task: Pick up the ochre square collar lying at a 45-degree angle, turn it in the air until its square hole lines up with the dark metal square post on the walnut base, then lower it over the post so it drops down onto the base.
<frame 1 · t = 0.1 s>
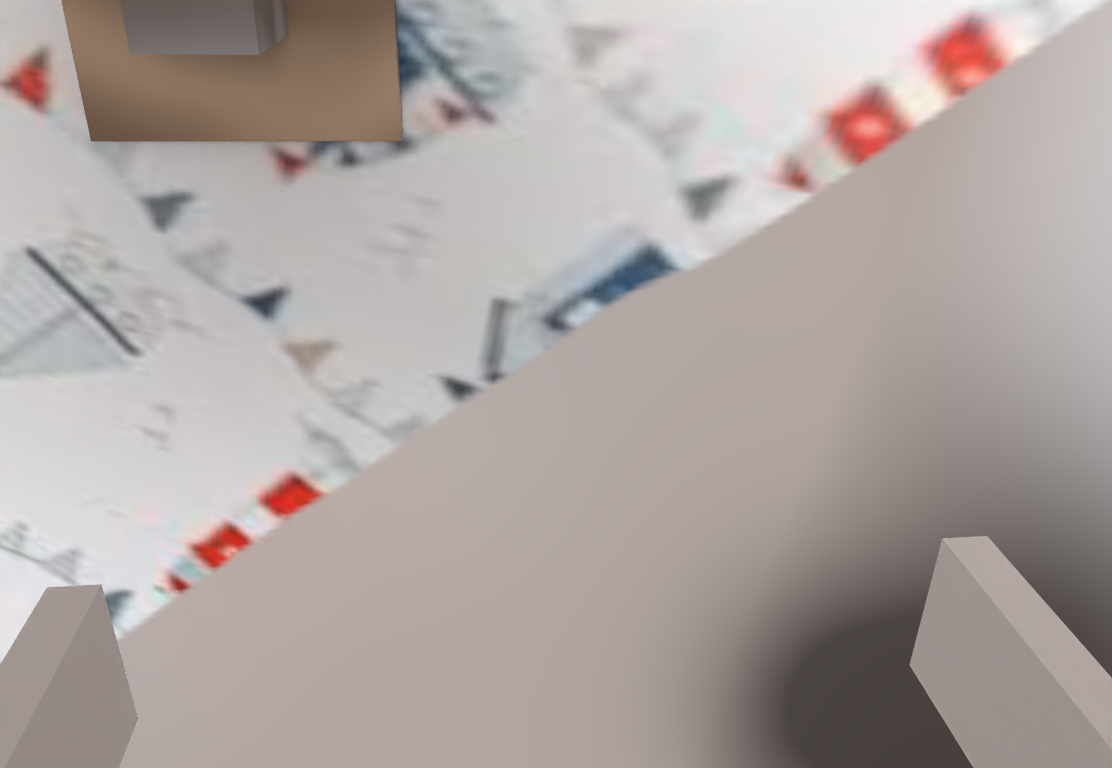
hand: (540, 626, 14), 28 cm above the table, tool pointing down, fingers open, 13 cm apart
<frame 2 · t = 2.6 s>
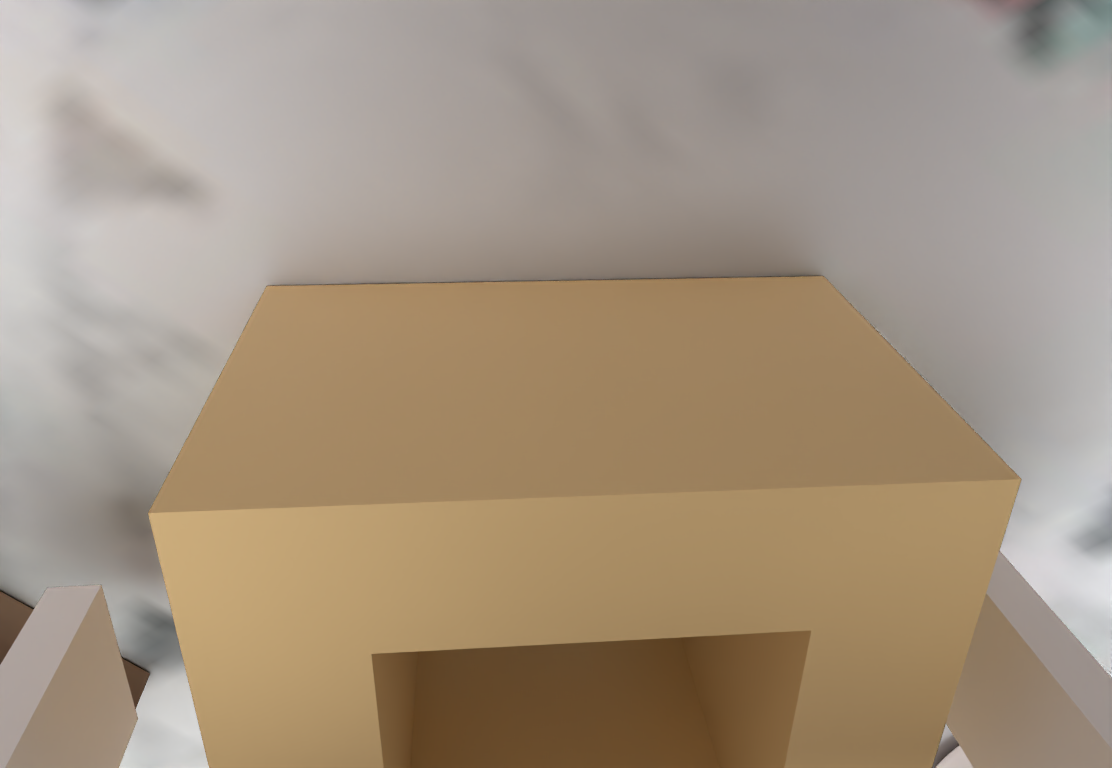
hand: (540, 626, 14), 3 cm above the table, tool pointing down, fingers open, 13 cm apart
collar: (549, 509, 17), on the table
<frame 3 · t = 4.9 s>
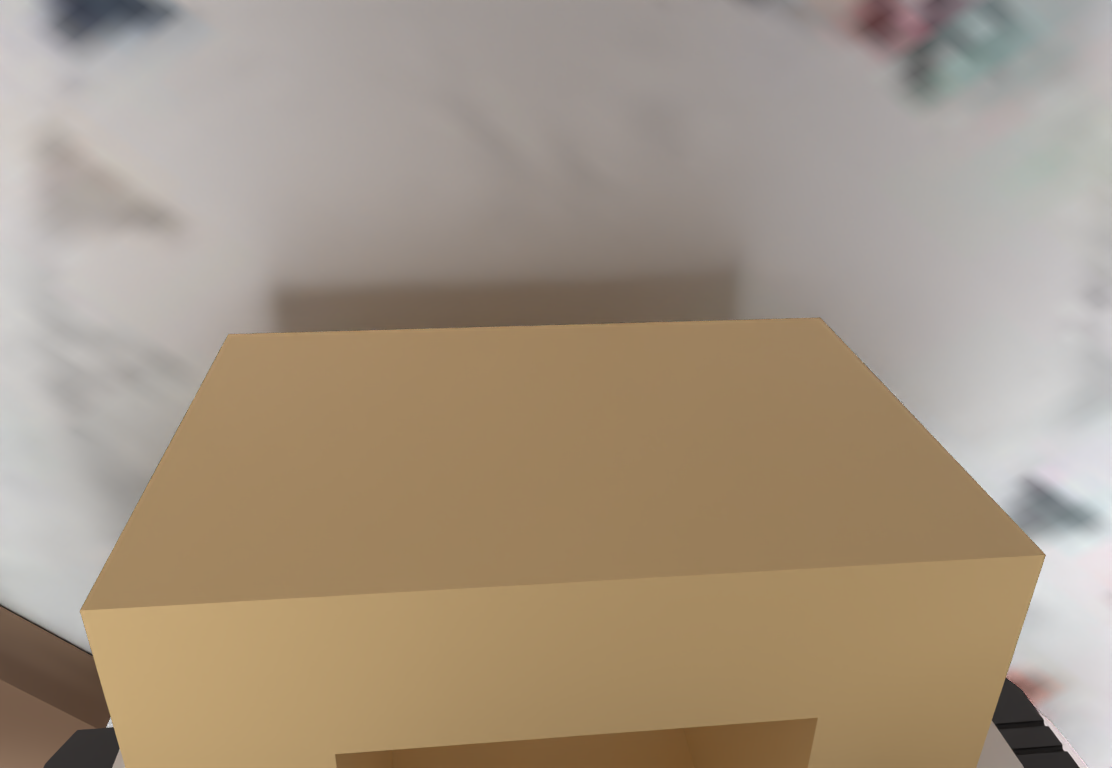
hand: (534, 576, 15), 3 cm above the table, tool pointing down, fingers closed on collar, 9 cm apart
drinking glass: (943, 755, 23), on the table
collar: (533, 562, 16), point 2 cm above the table, touching gripper
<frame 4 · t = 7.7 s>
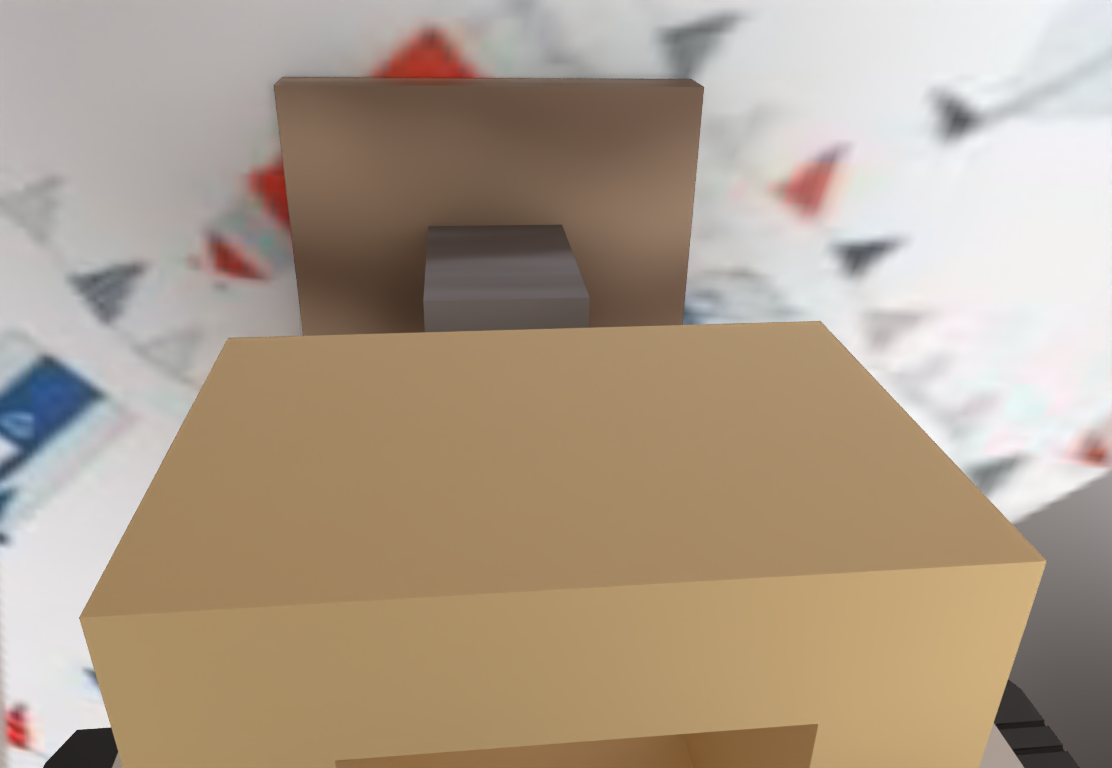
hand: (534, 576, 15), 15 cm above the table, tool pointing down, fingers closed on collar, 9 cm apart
post base: (494, 271, 29), on the table
collar: (533, 566, 16), point 15 cm above the table, touching gripper
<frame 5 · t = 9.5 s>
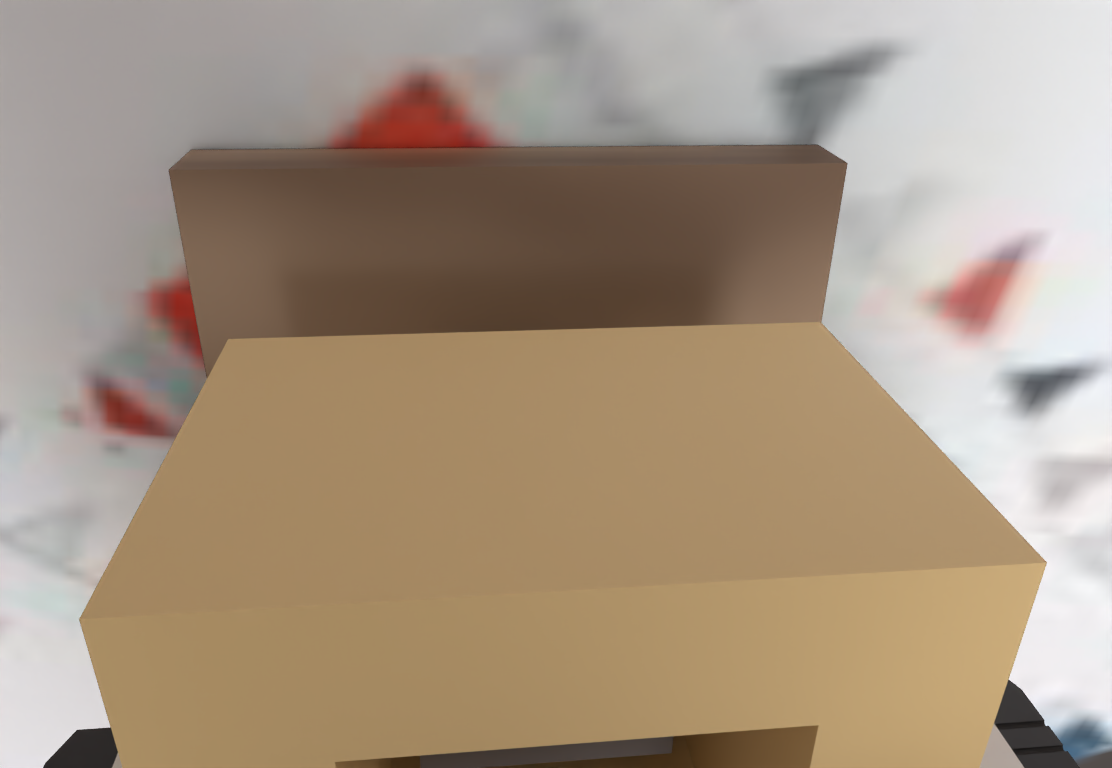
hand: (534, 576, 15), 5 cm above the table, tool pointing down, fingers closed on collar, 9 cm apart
post base: (516, 419, 20), on the table
collar: (533, 567, 16), point 5 cm above the table, touching gripper
when the fingers open (3 cm above the table, at t = 10.7 s): collar drops 2 cm, resting on post base.
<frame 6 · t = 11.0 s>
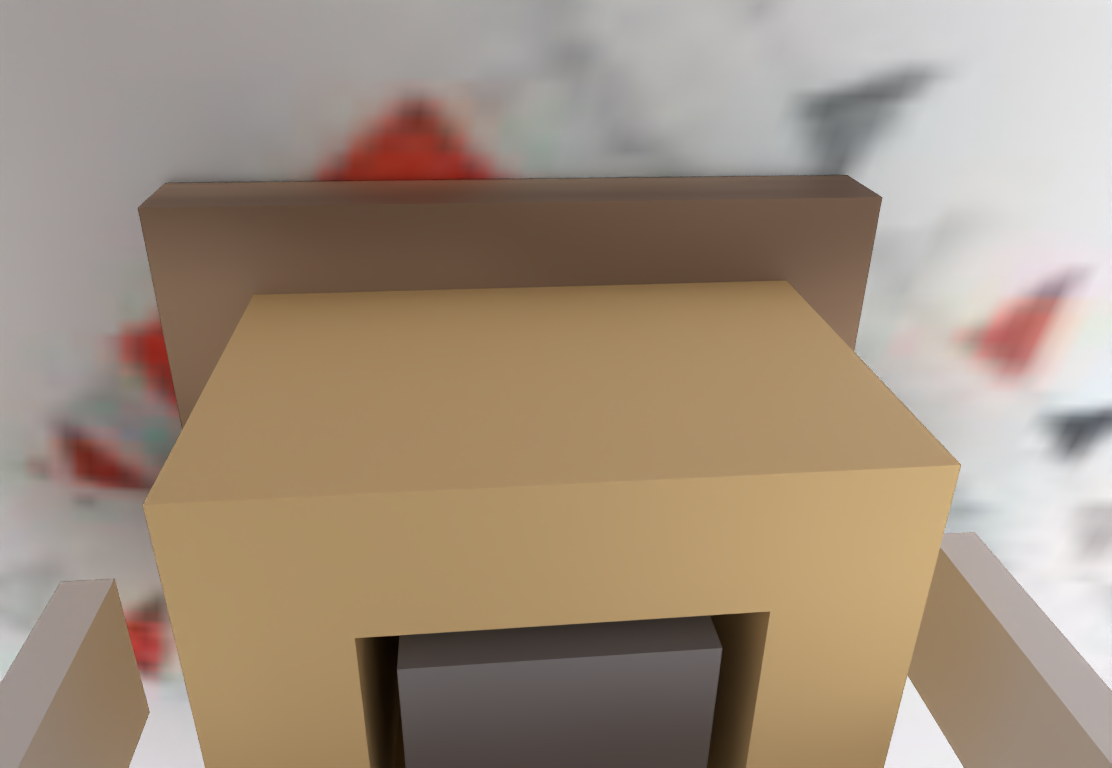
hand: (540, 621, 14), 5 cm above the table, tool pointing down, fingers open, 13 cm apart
post base: (520, 468, 19), on the table
collar: (528, 508, 17), point 1 cm above the table, touching post base
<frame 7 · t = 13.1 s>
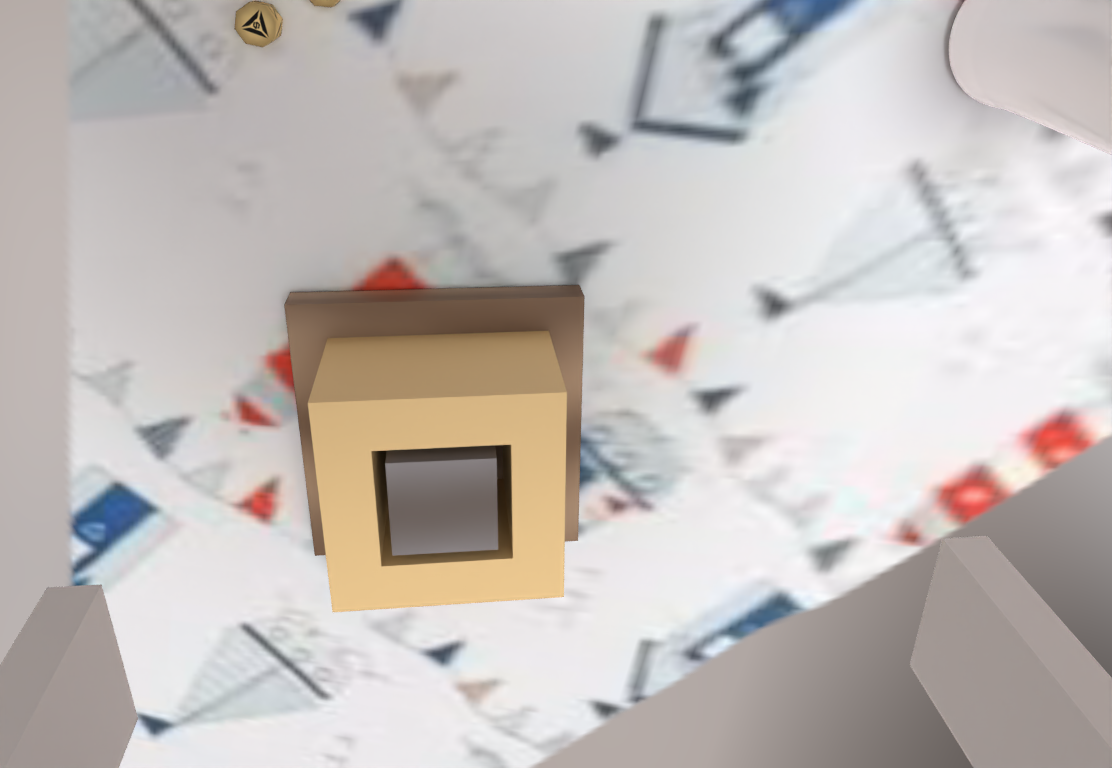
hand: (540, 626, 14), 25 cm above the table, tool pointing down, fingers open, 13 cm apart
drinking glass: (1003, 35, 36), on the table
post base: (443, 416, 40), on the table
collar: (444, 431, 39), point 1 cm above the table, touching post base
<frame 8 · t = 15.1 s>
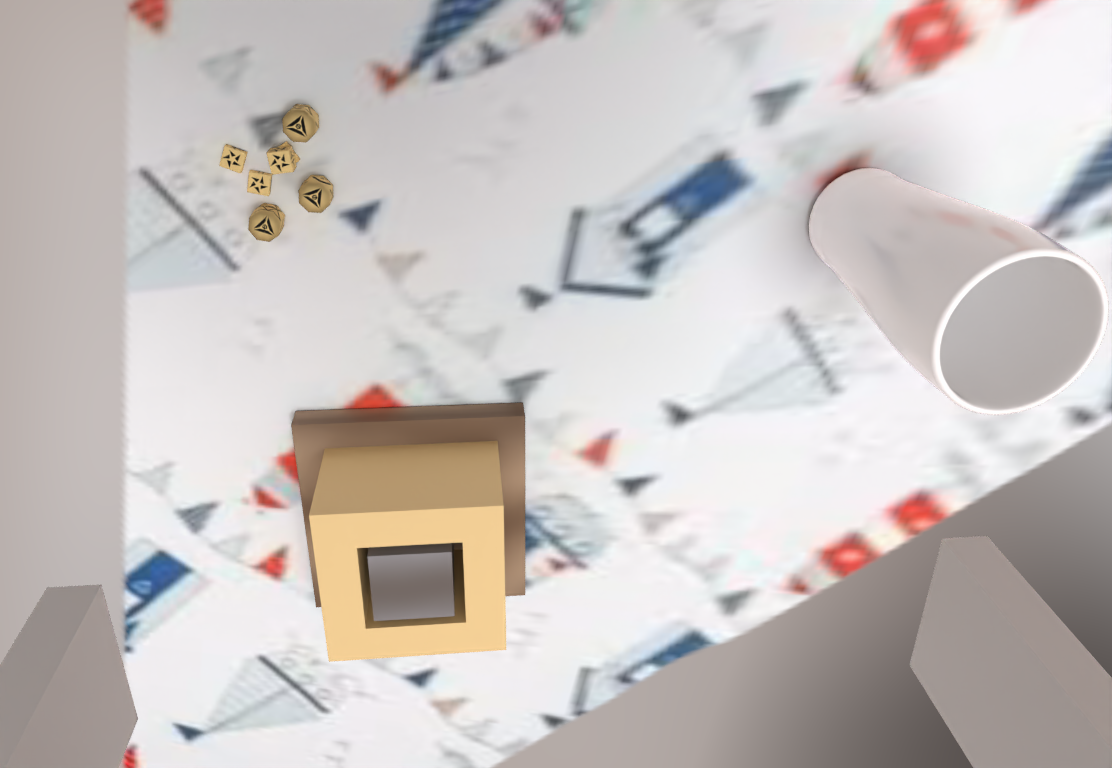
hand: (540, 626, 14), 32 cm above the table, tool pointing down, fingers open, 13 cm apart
drinking glass: (854, 216, 46), on the table
post base: (416, 500, 51), on the table
dice set: (289, 171, 43), on the table
collar: (417, 515, 49), point 1 cm above the table, touching post base
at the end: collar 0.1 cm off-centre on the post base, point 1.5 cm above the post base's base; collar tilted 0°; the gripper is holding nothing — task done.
